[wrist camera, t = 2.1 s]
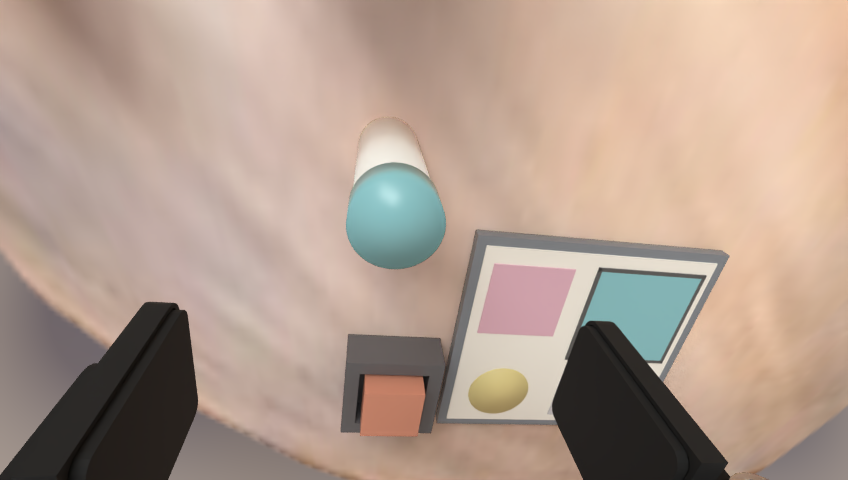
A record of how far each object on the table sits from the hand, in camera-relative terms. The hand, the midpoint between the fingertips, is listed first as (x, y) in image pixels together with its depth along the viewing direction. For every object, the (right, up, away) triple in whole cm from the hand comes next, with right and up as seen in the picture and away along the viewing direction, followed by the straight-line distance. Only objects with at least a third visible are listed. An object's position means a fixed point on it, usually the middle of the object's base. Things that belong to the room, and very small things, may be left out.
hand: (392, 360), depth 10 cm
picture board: (+12, -5, +25) cm, 28 cm away
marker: (-1, +9, +16) cm, 18 cm away
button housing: (-2, -8, +24) cm, 25 cm away
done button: (-2, -8, +22) cm, 24 cm away
